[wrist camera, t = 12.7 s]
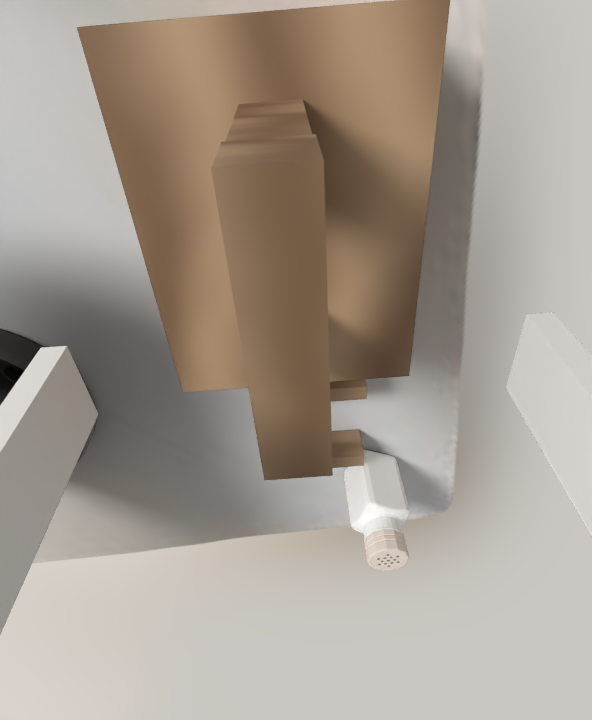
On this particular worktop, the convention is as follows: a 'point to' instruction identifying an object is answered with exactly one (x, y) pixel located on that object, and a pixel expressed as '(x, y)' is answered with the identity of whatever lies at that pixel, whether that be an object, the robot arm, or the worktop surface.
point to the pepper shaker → (378, 509)
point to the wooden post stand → (279, 197)
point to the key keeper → (347, 442)
